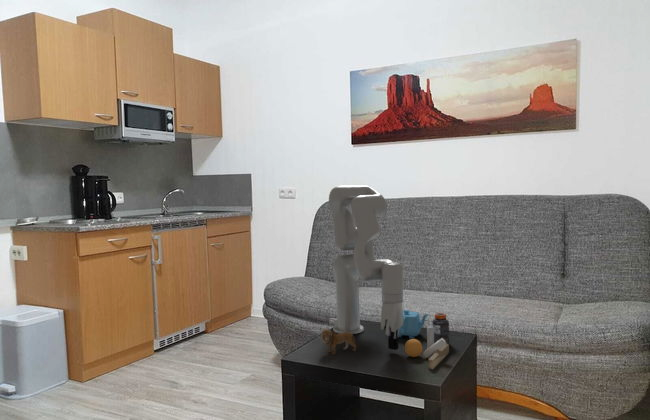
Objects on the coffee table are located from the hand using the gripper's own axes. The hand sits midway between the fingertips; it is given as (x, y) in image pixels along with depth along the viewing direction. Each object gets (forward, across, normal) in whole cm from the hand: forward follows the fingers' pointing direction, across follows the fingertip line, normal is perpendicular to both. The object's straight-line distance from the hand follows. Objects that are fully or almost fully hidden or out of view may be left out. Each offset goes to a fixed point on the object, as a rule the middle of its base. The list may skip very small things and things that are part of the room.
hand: (393, 348), depth 168 cm
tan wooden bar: (+2, 0, +16) cm, 17 cm away
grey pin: (+2, -8, +11) cm, 14 cm away
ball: (-2, 0, +8) cm, 8 cm away
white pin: (+1, 0, +12) cm, 12 cm away
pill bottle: (+2, -17, +12) cm, 21 cm away
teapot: (+2, -22, -3) cm, 22 cm away
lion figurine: (+2, +8, -18) cm, 20 cm away
